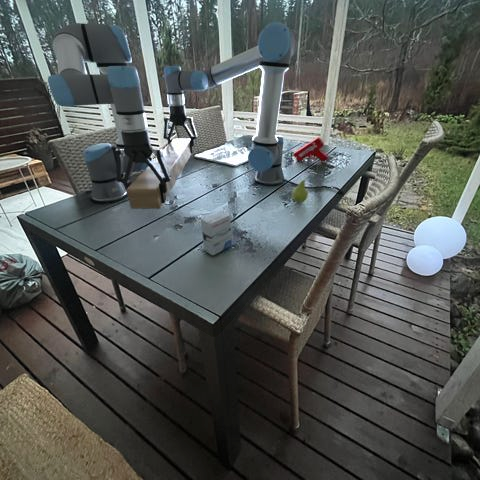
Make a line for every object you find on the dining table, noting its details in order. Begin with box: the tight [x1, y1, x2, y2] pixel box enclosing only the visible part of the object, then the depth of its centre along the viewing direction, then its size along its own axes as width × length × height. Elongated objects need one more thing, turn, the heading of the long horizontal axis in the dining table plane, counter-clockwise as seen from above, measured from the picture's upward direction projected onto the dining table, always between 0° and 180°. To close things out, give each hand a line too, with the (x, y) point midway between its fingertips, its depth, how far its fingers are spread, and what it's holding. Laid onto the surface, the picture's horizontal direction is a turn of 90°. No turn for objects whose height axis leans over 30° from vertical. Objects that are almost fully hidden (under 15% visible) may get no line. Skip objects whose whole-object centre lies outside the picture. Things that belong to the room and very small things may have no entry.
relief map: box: [194, 142, 250, 167], centre depth 181 cm, size 27×35×5 cm
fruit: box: [291, 174, 311, 204], centre depth 118 cm, size 7×8×12 cm
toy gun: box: [293, 136, 329, 164], centre depth 170 cm, size 18×4×15 cm
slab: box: [126, 138, 192, 210], centre depth 113 cm, size 68×9×7 cm, turn 0°
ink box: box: [200, 210, 232, 257], centre depth 88 cm, size 8×5×12 cm, turn 135°
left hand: (149, 201), depth 90 cm, fingers closed on slab, 9 cm apart
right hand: (182, 152), depth 140 cm, fingers closed on slab, 9 cm apart
